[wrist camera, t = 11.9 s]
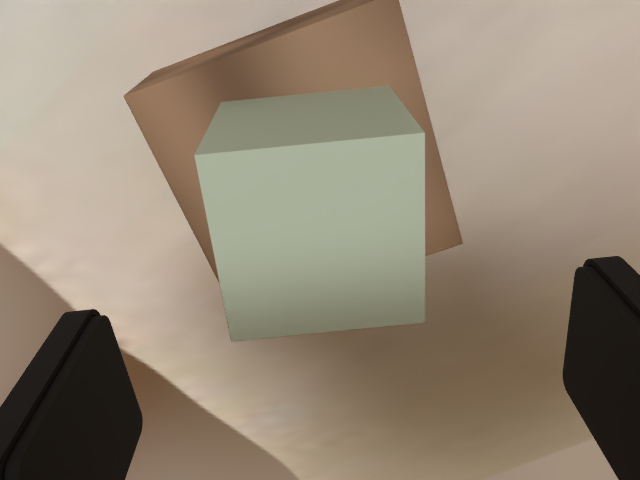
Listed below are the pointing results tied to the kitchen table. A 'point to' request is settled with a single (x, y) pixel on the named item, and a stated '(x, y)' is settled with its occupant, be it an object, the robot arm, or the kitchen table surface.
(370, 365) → the kitchen table surface
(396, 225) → the green cube
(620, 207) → the kitchen table surface
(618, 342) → the robot arm
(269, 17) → the kitchen table surface
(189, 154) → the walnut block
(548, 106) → the kitchen table surface
